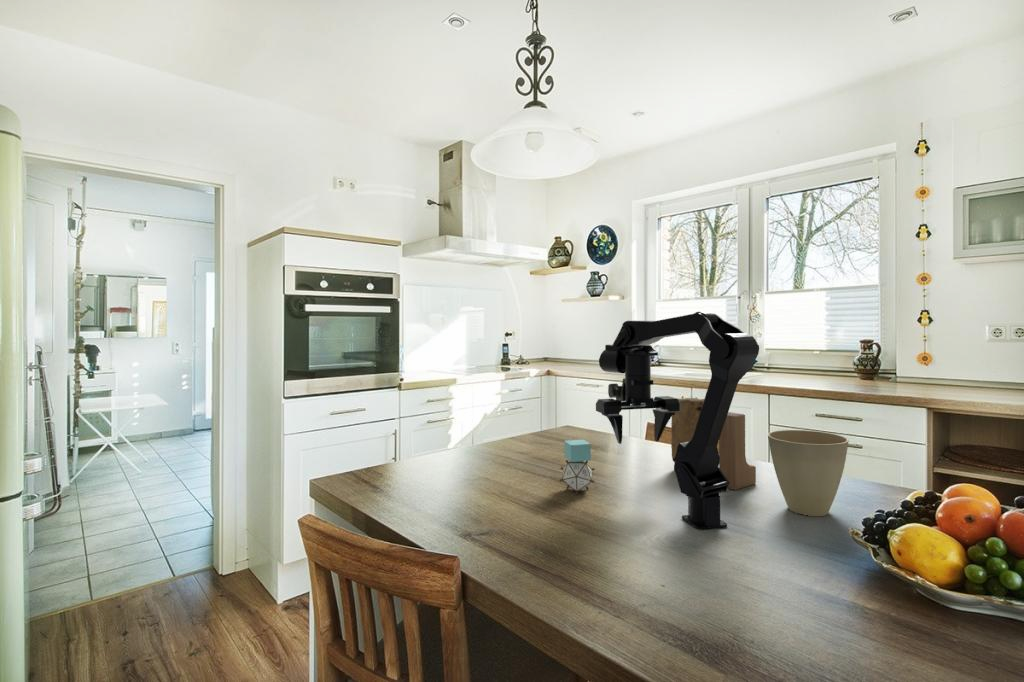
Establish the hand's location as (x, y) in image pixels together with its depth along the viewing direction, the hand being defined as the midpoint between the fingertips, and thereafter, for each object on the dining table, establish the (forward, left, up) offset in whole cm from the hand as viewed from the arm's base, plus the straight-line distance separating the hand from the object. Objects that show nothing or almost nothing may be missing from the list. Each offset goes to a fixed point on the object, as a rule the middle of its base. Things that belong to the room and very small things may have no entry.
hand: (638, 442), depth 118 cm
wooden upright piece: (+16, -24, -13) cm, 32 cm away
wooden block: (+3, -28, -13) cm, 31 cm away
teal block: (+8, +12, -5) cm, 15 cm away
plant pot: (-16, -31, -13) cm, 37 cm away
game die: (+8, +12, -13) cm, 20 cm away
